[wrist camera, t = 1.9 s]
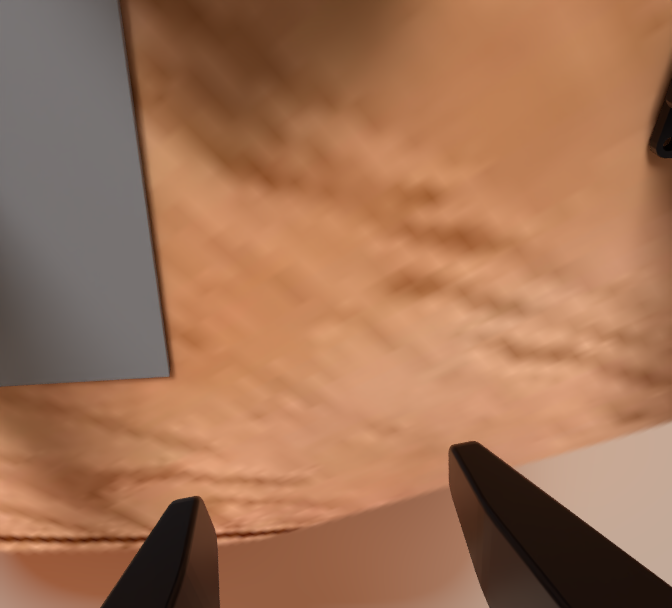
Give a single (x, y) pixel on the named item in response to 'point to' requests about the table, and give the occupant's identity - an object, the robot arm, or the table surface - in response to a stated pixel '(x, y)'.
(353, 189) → the table surface
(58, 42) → the mat
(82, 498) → the table surface
